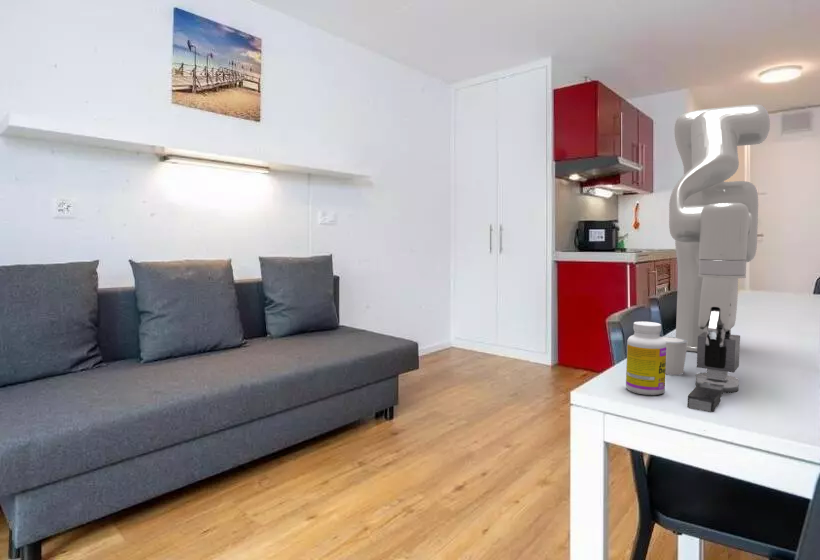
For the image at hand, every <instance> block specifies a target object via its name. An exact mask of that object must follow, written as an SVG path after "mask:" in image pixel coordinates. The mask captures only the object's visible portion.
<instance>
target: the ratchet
mask: <svg viewBox="0 0 820 560" xmlns="http://www.w3.org/2000/svg"><path fill="white" fill-rule="evenodd" d="M694 385H695V386H694V388H693V390H691V391H690V392H689V393H688V395H687V404H686V405H687V408H688V409H691V410H695V411H696V410H697V411H701V412H702V411H703V412H707V413H714V412H715V410H716V409H717V407H718V406H719V404H720V402H721V399H722V396H723V395H724V394H736V393H738V392H739V390H740V389H739V387H740V380H739V378H737V377H736V376H732V375H729V372H725V371H718V370H711V369H706V372H699V373H696V374H695V384H694Z"/></svg>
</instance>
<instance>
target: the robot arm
mask: <svg viewBox="0 0 820 560" xmlns="http://www.w3.org/2000/svg"><path fill="white" fill-rule="evenodd" d="M770 127H771V119H770V114H769V112H768V110H767V108H766V107H765V106H763V104H753V103H752V104H741V105H733V106H723V107H712V108H704V109H703V108H702V109H697V110H696V109H695V110H691V111H688V112H685V113H683V114H680V115H679V116H678V117H677V119H675V123H674V128H673V130H674V140H675V145H676V148H677V150H678V153H679V156H680V159H681V161H682V165H683V175H682V177H680V178H679V180H678V181H677V182H676V184H675V186H674V187H673V189H672V191H671V193H670V197H669V203H668V204H669V205H668V208H669V209H668V211H669V212H668V227H669V233H670V236H671V237H672V238H673V240H674V241H675V242H674V243H675V253H676V254H675V255H676V263H677V293H676V294H677V296H676V320H675V321H676V322H675V323H676V324H675V325H676V326H675V338H681V339H685V340H687V341H688V344H687V351H686V352H688V351H689V352H696V353H697V343H698V336H699V335H700V334H702V333H703V332H707V336H706V345H705V362H704V365H705V366H707V367H714V368H721V369H723V368H724V367H725V355H726V347H724V341H725V334H731V335H732V329H733V327H735V325H736V319H737V313H738V311H737V310H738V294H739V293H738V291H739V288H738V287H739V279H745V278H746V273H747V263H749V262H751V261H752V260H753V259H755V256H756V252H757V247H758V245H757V244H758V227H759V225H758V223H759V195H758V189H757V187H756V186H755V184H754V183H752V182H749V181H745V180H735V181H727V180H729V179H730V178H731V177H733V176H734V175H735V174H736V173H737V171H738V170H739V165H740V162H739V153H738V147H740V146H752V145H761V144H762V143H763V142H764V141H766V139H767V137H768V136H769V132H770V129H771V128H770ZM719 334H721V336H720V335H719Z"/></svg>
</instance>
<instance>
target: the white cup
mask: <svg viewBox="0 0 820 560" xmlns="http://www.w3.org/2000/svg"><path fill="white" fill-rule="evenodd" d="M661 337H662V338H663V339H664V340H665V341H666V374H665V375H669V376H670V375H672V376H676V375H677V376H678V375H682V374H684V370H685V363H686V355H687V352H688V351H687V344H688V341H687V340H685V339H681V338H676V336H675V337H673V336H661Z"/></svg>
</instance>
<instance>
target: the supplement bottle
mask: <svg viewBox="0 0 820 560" xmlns="http://www.w3.org/2000/svg"><path fill="white" fill-rule="evenodd" d="M632 329H633V331H634V333H633V334H632V335H630V336H629V337H628V338H627V342H626V373H625V376H626V377H625V387H626V388H627V390H628V391H630V392H631V393H635V394H638V395H645V396H646V395H647V396H658V395H662V394H663V393H664V392H665V390H666V375H667V374H666V341H665V340H664V339H663V338H662V337H663V336H660V333H661V331H662V324H661V323H659V322H653V321H634V322H633V327H632Z"/></svg>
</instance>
